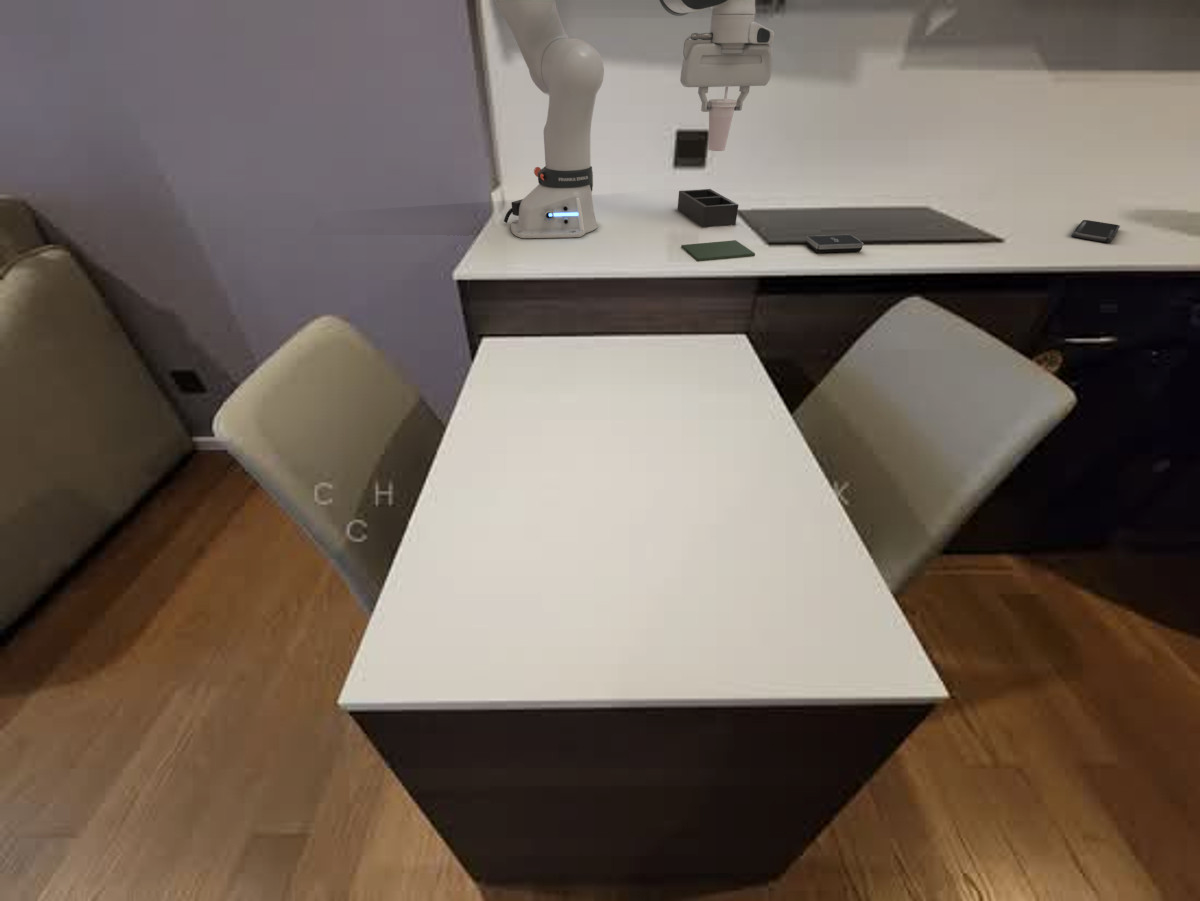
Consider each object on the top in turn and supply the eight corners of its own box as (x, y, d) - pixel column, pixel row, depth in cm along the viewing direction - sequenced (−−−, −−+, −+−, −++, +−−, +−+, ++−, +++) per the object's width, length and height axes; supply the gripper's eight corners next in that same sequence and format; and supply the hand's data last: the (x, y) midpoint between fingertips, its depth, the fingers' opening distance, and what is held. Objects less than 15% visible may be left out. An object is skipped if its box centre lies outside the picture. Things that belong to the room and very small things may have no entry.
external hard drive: (861, 252, 121) (864, 243, 120) (815, 254, 121) (817, 245, 119) (848, 243, 127) (850, 234, 126) (803, 244, 126) (805, 236, 125)
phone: (1073, 232, 129) (1083, 219, 138) (1070, 236, 130) (1081, 223, 138) (1113, 238, 125) (1121, 225, 133) (1110, 243, 125) (1118, 229, 134)
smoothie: (732, 152, 121) (743, 77, 113) (704, 152, 121) (713, 77, 113) (727, 147, 126) (737, 75, 118) (701, 147, 126) (708, 75, 118)
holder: (735, 224, 139) (738, 204, 136) (702, 227, 137) (704, 207, 134) (708, 207, 153) (710, 188, 150) (677, 209, 151) (678, 190, 148)
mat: (697, 261, 117) (697, 258, 117) (681, 247, 125) (681, 244, 124) (754, 255, 120) (755, 253, 119) (735, 242, 127) (735, 240, 127)
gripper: (690, 32, 106) (684, 114, 114) (781, 33, 110) (768, 111, 119) (679, 32, 111) (673, 110, 119) (766, 33, 115) (754, 108, 123)
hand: (721, 111), depth 119 cm, fingers closed on smoothie, 6 cm apart
